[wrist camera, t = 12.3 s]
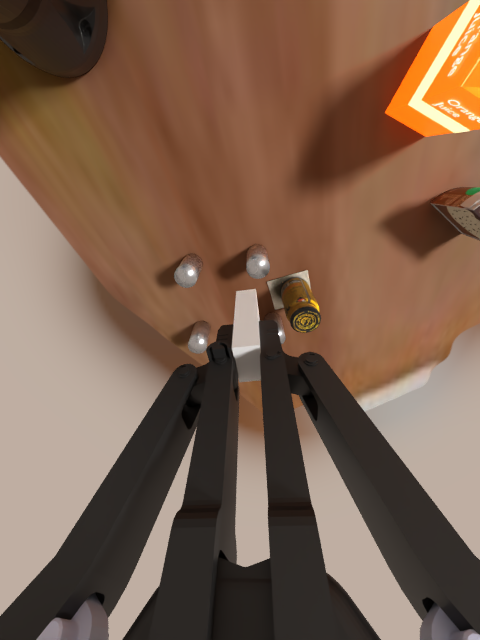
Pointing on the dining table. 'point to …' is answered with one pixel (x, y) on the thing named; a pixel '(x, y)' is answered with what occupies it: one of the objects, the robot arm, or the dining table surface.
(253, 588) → the robot arm
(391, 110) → the orange juice
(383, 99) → the dining table surface
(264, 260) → the cylinder
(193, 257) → the cylinder
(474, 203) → the retro television
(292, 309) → the condiment
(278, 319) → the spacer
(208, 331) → the cylinder
